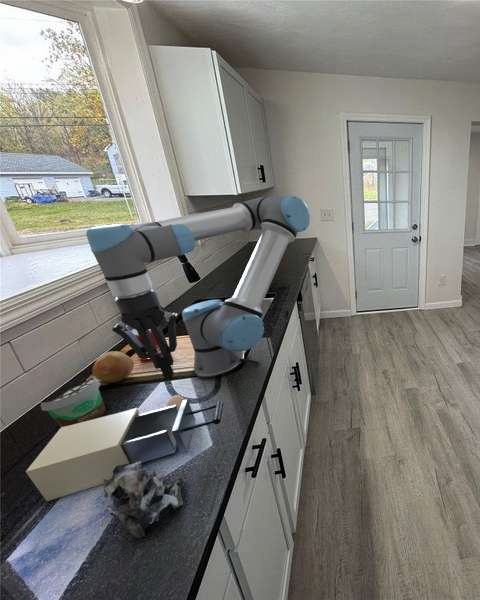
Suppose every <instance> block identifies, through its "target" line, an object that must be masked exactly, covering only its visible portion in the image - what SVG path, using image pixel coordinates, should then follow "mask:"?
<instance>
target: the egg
mask: <svg viewBox="0 0 480 600" xmlns="http://www.w3.org/2000/svg"><path fill="white" fill-rule="evenodd" d="M183 400H186V398H185V397H183V396H182V395H179V394H177V395H173V396H171V397H170V398H169V399H168V401H167V404H166V407H169V406H173V405H176V406H177V409H178V411H179V409H180V406H181V403H182V401H183Z"/></svg>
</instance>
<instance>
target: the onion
mask: <svg viewBox="0 0 480 600" xmlns="http://www.w3.org/2000/svg"><path fill="white" fill-rule="evenodd" d="M134 366H135V362H134V360H133V359H132V358H131V357H130V356H129V355H127V354H126V353H124V352H121V351H117V350H115V351H113V350H110V351H107V352H105V353H103V354H102V355H101V356H99V357H98V358H97V359H96V360H95V362H94V364H93V366H92V370H91V371H92V374H93V376H94V377H95V378H96V379H97V380H98V381H101V382H104V383H107V384H108V383H111V384H112V383H118V382H119V383H120V382H121V381H123V380H125V379H126V378H127V377H128V376H129V375H130V374H131V373H132V371H133V369H134Z"/></svg>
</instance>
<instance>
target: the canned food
mask: <svg viewBox="0 0 480 600" xmlns="http://www.w3.org/2000/svg"><path fill="white" fill-rule="evenodd" d="M131 331H132V333H133V334H134V335H135V336H136V337H137V339H138V340H139V341H140V342H141V343H142V344H143V346H144V343H143V341H142V339H141V337H140V336H139V334H138V332H137V330H135V329H134V328H132V330H131ZM149 332H150V335H151V337H152V339H153V342H154V344H155V347H156V349H157V351H158V354H159V353H161V351H160V349H159V346H158V344H157V341H156V339H155V337H154V334H153V333H152V332H151V329H149ZM144 347H145V346H144ZM137 357H138V359H139V358H140V357H139V356H138V355H137ZM139 361H141V362H149V361H152V360H151V359H147V358H145V359H139Z"/></svg>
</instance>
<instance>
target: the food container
mask: <svg viewBox="0 0 480 600" xmlns="http://www.w3.org/2000/svg"><path fill="white" fill-rule="evenodd" d="M100 386H101V382H100V380H99V379H98V378H96V377H95V376H92V375H89V379H87V380H86V381H84V382H83V383H81V384H78V385H76V386H74V387H72V388H69V389H67V390H66V391H64V392H63V393H61V394H60V395H58V396H57V397H56V398H54V399H52V400H50V401H48V402H46V401H45V402H40V409H41V411H43V412H45V411H47V413H48V414H49V415H50V416H51V417H52V419H53V420H54V421H55V422H56V423H57V425H59V427H60V428H62V427H66V426H70V425H74V424H77V423H81V422H85V421H89V420H93V419H97V418H101V417H103V416H104V415H105V413H106V406H105V404H104V400H103V398H102V395H101V392H100V389H99V388H100Z"/></svg>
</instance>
